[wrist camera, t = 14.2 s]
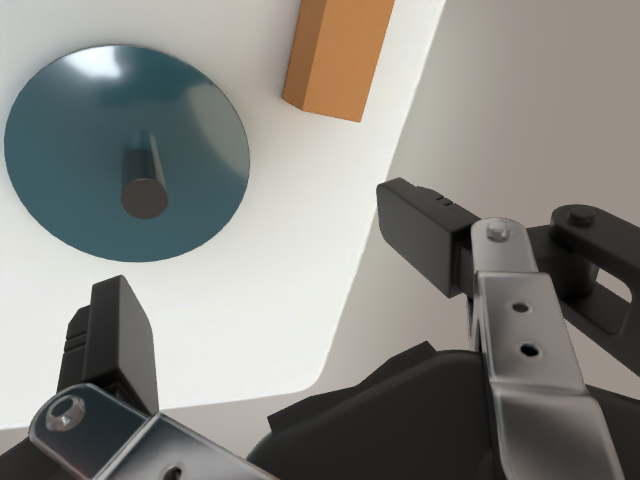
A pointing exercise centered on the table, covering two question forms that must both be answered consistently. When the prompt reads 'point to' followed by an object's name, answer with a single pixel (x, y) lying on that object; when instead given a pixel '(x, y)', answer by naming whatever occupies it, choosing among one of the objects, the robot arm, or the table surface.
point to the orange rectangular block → (336, 55)
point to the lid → (126, 153)
